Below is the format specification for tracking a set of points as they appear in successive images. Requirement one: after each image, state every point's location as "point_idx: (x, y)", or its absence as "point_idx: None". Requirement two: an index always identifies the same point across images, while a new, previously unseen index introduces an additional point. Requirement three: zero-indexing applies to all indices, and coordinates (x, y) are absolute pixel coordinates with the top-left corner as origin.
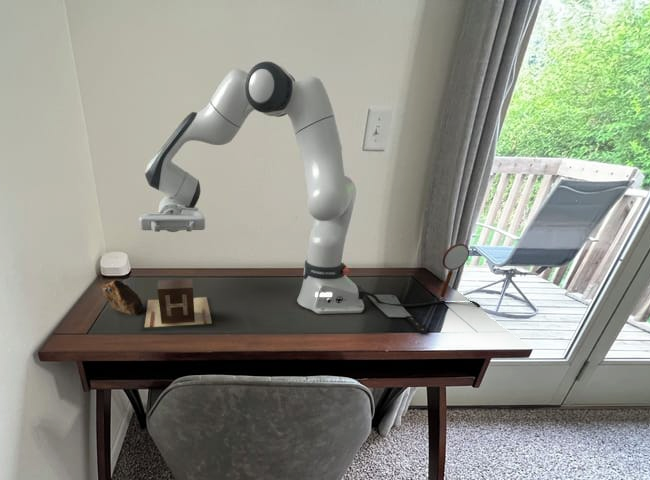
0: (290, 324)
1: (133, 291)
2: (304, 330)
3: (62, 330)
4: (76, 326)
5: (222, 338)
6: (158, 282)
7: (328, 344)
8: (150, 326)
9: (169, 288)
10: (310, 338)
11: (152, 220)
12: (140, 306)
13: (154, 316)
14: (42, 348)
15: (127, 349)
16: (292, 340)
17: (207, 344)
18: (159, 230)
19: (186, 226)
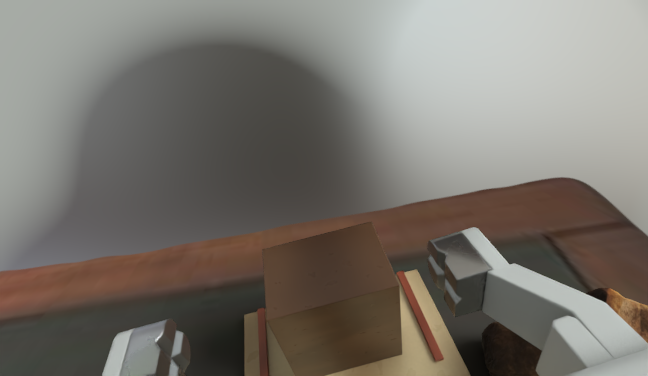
0: (40, 356)
1: (539, 356)
2: (31, 328)
3: (628, 239)
4: (615, 261)
5: (229, 267)
6: (389, 266)
7: (31, 279)
8: (401, 272)
9: (335, 231)
10: (47, 295)
11: (640, 356)
12: (487, 353)
13: (418, 331)
14: (582, 182)
15: (412, 206)
16: (89, 282)
17: (262, 243)
18: (430, 262)
19: (167, 357)
